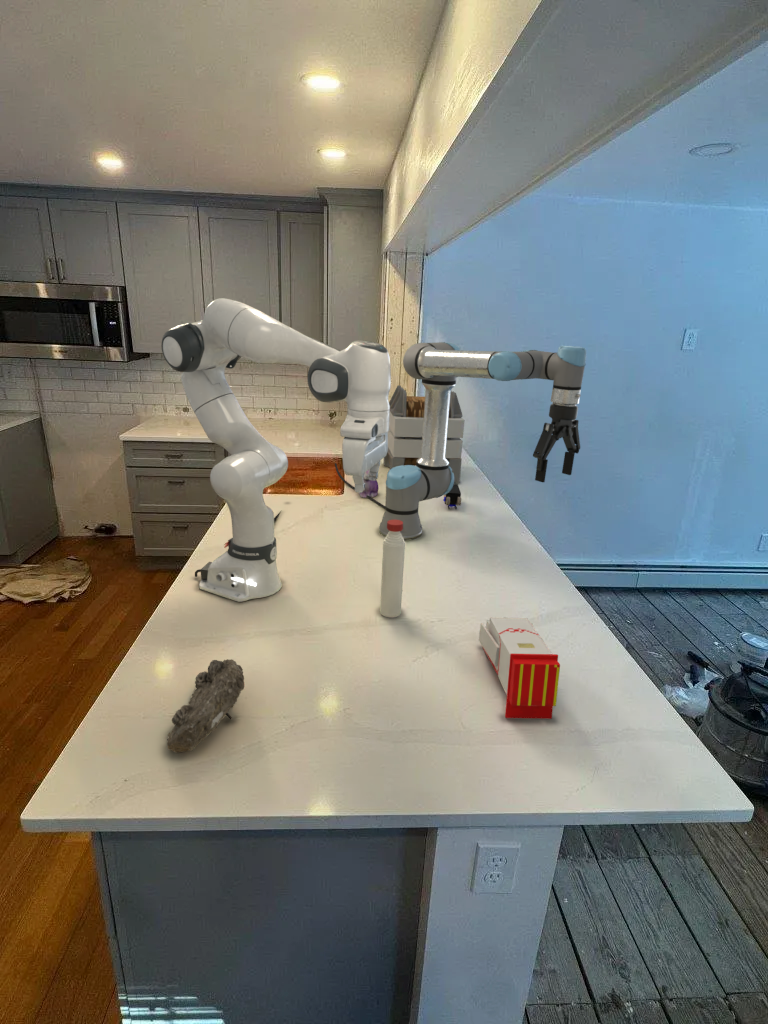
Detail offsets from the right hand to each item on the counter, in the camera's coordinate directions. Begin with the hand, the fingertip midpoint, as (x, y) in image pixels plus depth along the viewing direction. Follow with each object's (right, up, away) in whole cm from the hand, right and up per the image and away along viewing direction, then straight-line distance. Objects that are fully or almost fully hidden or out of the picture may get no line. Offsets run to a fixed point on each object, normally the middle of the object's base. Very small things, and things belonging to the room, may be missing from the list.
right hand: (553, 477), depth 165 cm
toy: (-21, -46, -41) cm, 65 cm away
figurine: (-56, -3, +75) cm, 93 cm away
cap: (-46, -13, -25) cm, 54 cm away
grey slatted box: (-32, +9, +110) cm, 115 cm away
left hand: (-53, -4, -41) cm, 67 cm away
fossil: (-82, -49, -57) cm, 111 cm away
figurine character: (-22, -7, +67) cm, 71 cm away
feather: (-88, -11, +48) cm, 101 cm away
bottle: (-48, -36, -16) cm, 62 cm away
